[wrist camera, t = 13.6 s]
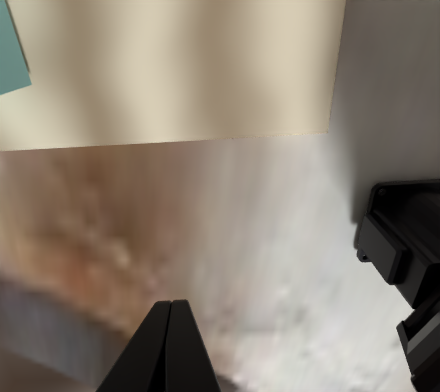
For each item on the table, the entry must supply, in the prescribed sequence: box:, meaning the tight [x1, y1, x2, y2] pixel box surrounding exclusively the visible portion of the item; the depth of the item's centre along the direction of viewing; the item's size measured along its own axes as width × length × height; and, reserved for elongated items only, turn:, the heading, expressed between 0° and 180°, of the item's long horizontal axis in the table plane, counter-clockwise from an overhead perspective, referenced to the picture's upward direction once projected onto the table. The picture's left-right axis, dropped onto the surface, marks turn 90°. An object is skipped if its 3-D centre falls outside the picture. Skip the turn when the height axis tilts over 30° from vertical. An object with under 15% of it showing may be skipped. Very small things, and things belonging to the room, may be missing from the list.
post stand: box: [0, 0, 346, 151], centre depth 12 cm, size 24×12×8 cm, turn 92°
